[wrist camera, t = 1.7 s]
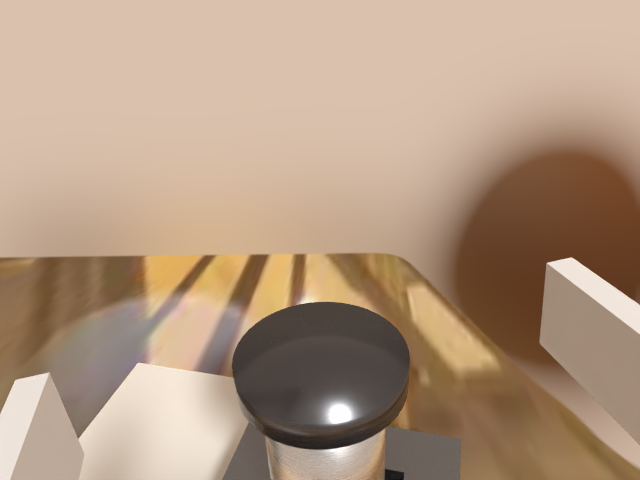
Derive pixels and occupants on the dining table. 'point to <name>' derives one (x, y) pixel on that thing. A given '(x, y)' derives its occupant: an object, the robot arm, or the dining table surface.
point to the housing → (400, 456)
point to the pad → (164, 427)
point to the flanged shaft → (322, 389)
